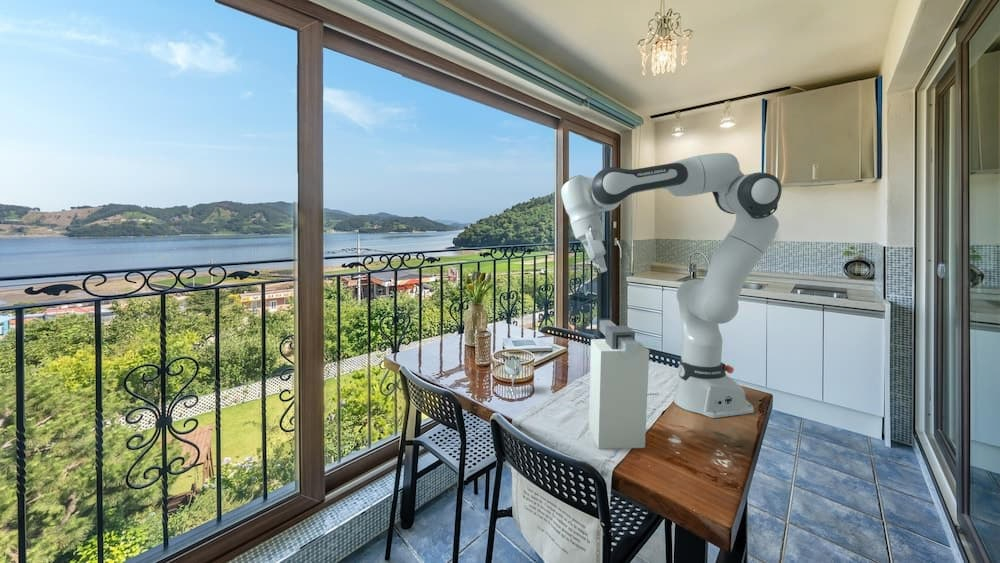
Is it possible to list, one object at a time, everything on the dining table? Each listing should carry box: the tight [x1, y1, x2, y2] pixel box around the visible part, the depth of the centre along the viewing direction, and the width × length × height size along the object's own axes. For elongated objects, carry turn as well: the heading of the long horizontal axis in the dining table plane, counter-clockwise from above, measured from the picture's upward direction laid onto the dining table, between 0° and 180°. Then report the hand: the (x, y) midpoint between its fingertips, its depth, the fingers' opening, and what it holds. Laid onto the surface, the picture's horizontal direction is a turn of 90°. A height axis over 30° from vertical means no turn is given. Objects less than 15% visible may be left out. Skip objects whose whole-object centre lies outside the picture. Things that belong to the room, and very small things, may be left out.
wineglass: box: [503, 355, 522, 395], centre depth 135 cm, size 6×6×12 cm
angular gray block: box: [597, 318, 638, 356], centre depth 105 cm, size 3×24×3 cm, turn 1°
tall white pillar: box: [588, 325, 650, 450], centre depth 104 cm, size 12×10×30 cm
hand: (603, 272), depth 119 cm, fingers open, 8 cm apart
